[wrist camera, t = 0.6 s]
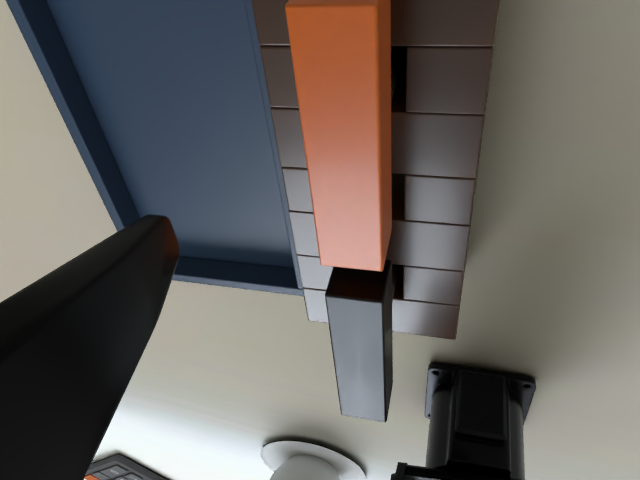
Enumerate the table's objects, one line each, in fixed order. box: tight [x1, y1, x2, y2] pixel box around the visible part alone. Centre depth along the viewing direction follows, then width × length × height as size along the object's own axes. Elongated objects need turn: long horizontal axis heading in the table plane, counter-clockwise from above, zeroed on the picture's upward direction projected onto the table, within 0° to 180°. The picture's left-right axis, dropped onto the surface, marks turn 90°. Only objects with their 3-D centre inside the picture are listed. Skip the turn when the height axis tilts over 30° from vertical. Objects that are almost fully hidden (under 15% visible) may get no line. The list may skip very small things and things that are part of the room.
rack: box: [251, 0, 500, 339], centre depth 22 cm, size 17×7×4 cm, turn 6°
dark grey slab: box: [325, 259, 399, 422], centre depth 23 cm, size 8×2×9 cm, turn 6°
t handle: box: [285, 0, 407, 272], centre depth 17 cm, size 8×2×9 cm, turn 6°
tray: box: [6, 0, 304, 296], centre depth 25 cm, size 19×11×2 cm, turn 6°
